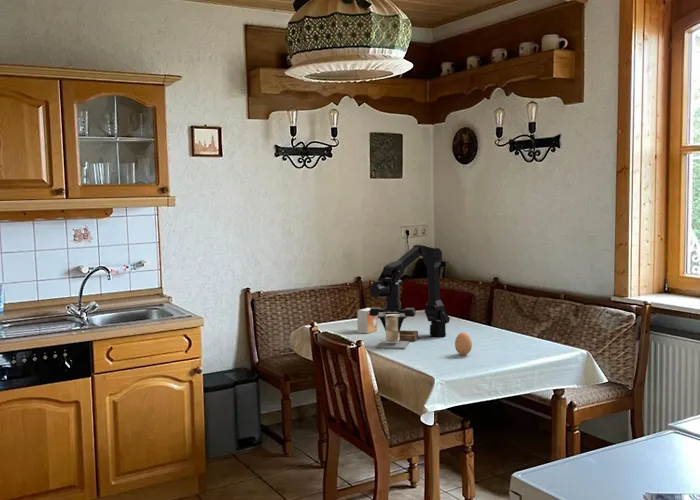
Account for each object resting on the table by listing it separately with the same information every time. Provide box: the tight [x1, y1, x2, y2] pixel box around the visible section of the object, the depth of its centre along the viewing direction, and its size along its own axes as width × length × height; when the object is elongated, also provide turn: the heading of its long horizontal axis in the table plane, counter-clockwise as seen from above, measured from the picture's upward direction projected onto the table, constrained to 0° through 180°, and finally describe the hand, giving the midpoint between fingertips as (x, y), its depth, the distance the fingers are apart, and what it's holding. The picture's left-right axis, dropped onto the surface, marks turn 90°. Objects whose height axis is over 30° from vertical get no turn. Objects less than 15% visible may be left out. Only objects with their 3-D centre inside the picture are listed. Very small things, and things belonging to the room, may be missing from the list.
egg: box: [454, 331, 473, 356], centre depth 282 cm, size 7×7×9 cm
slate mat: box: [375, 339, 410, 350], centre depth 300 cm, size 12×12×1 cm
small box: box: [356, 307, 378, 334], centre depth 330 cm, size 8×6×10 cm
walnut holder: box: [399, 329, 419, 342], centre depth 314 cm, size 10×10×2 cm
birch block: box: [385, 315, 400, 342], centre depth 300 cm, size 5×5×10 cm
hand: (392, 332), depth 300 cm, fingers closed on birch block, 5 cm apart
